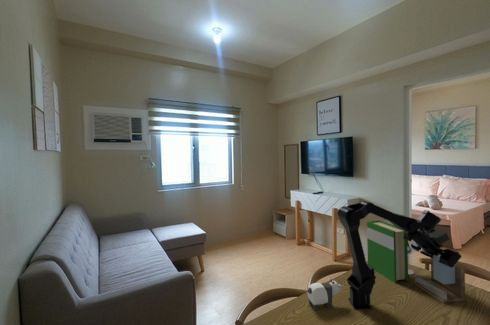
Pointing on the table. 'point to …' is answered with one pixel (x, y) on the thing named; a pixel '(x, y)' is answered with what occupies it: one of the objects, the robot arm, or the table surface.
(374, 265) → the hardback book
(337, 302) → the table surface
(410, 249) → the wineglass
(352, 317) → the table surface
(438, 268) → the blue-grey rectangular block
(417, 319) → the table surface
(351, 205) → the robot arm
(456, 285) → the wooden display stand
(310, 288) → the giant panda
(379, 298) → the table surface
